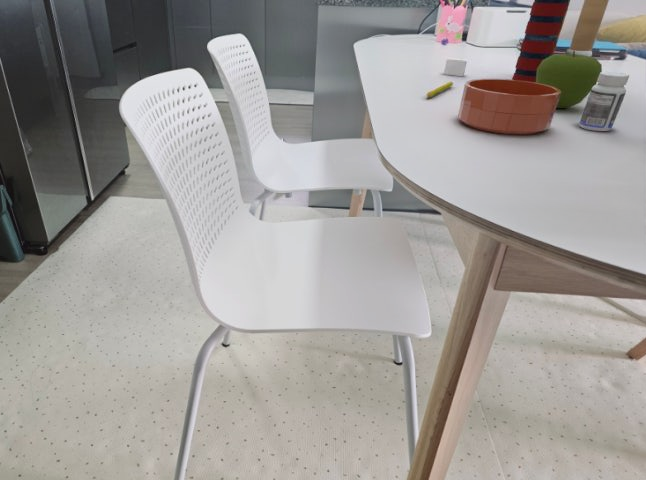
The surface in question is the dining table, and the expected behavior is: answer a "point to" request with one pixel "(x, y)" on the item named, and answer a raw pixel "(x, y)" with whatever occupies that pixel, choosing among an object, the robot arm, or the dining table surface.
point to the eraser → (455, 67)
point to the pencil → (439, 89)
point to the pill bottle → (604, 101)
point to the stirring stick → (588, 25)
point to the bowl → (508, 105)
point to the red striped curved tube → (540, 37)
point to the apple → (569, 76)
